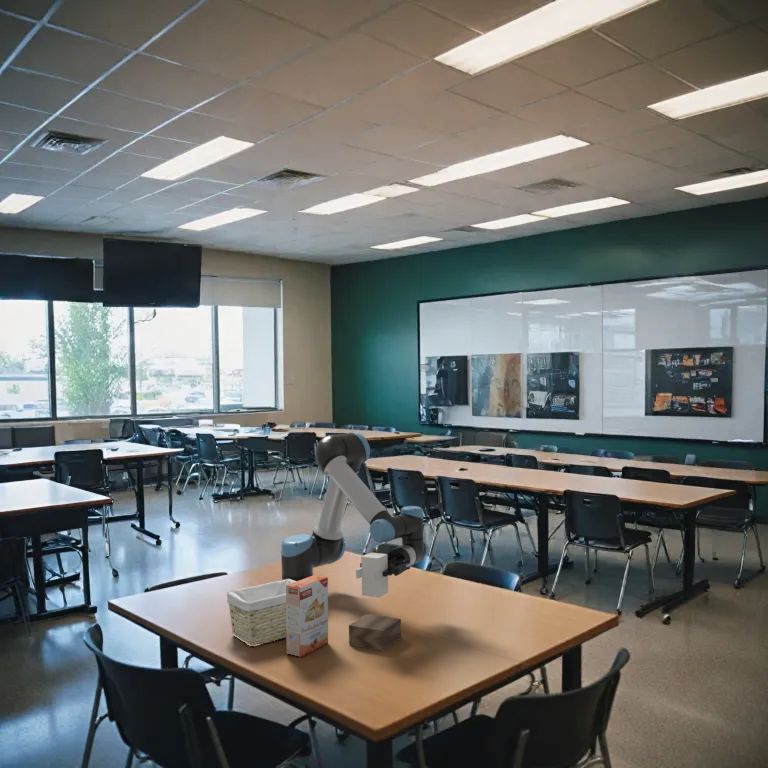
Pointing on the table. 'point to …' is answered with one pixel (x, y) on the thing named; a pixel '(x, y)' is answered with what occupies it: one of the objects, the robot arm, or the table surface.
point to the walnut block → (375, 631)
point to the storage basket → (259, 612)
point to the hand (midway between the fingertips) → (366, 575)
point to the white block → (373, 574)
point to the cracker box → (306, 615)
